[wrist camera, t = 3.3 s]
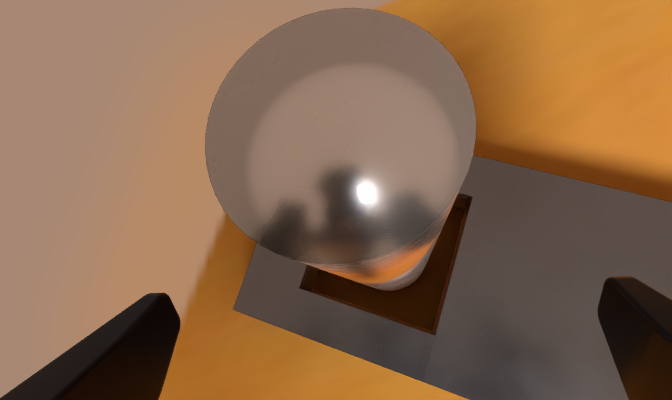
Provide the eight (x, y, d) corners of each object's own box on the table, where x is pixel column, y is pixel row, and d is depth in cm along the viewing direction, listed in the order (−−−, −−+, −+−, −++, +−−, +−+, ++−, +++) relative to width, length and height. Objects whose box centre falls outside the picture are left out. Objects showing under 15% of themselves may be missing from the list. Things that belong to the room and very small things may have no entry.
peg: (396, 307, 18) (357, 328, 5) (334, 258, 19) (154, 158, 6) (443, 243, 18) (536, 88, 5) (380, 198, 19) (313, -31, 6)
